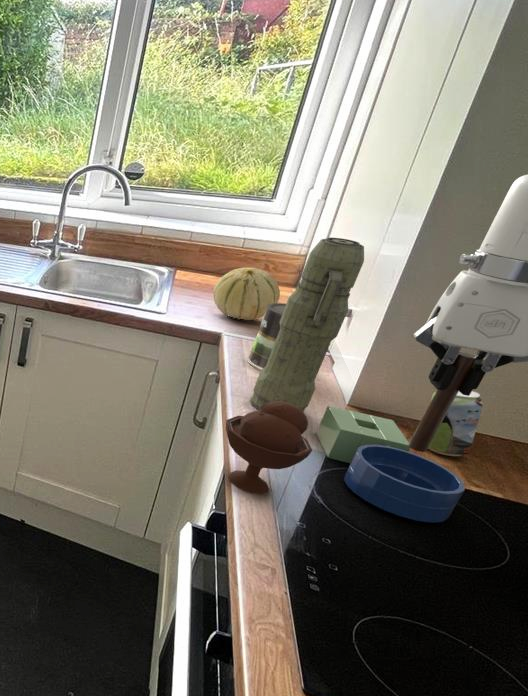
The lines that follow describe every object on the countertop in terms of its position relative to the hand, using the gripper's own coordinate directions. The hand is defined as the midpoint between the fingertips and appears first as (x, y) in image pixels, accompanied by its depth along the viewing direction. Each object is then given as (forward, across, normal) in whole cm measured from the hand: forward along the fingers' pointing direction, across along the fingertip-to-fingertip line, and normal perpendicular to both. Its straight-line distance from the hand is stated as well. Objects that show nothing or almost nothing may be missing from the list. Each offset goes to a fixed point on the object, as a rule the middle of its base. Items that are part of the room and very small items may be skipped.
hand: (449, 387), depth 85 cm
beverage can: (+20, +12, +23) cm, 33 cm away
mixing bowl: (+20, 0, 0) cm, 20 cm away
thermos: (+20, -12, +25) cm, 34 cm away
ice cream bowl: (+21, -20, -8) cm, 30 cm away
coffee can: (+20, -9, +48) cm, 53 cm away
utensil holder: (+20, -2, +13) cm, 24 cm away
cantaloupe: (+20, -13, +81) cm, 85 cm away
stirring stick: (+11, 0, 0) cm, 11 cm away
